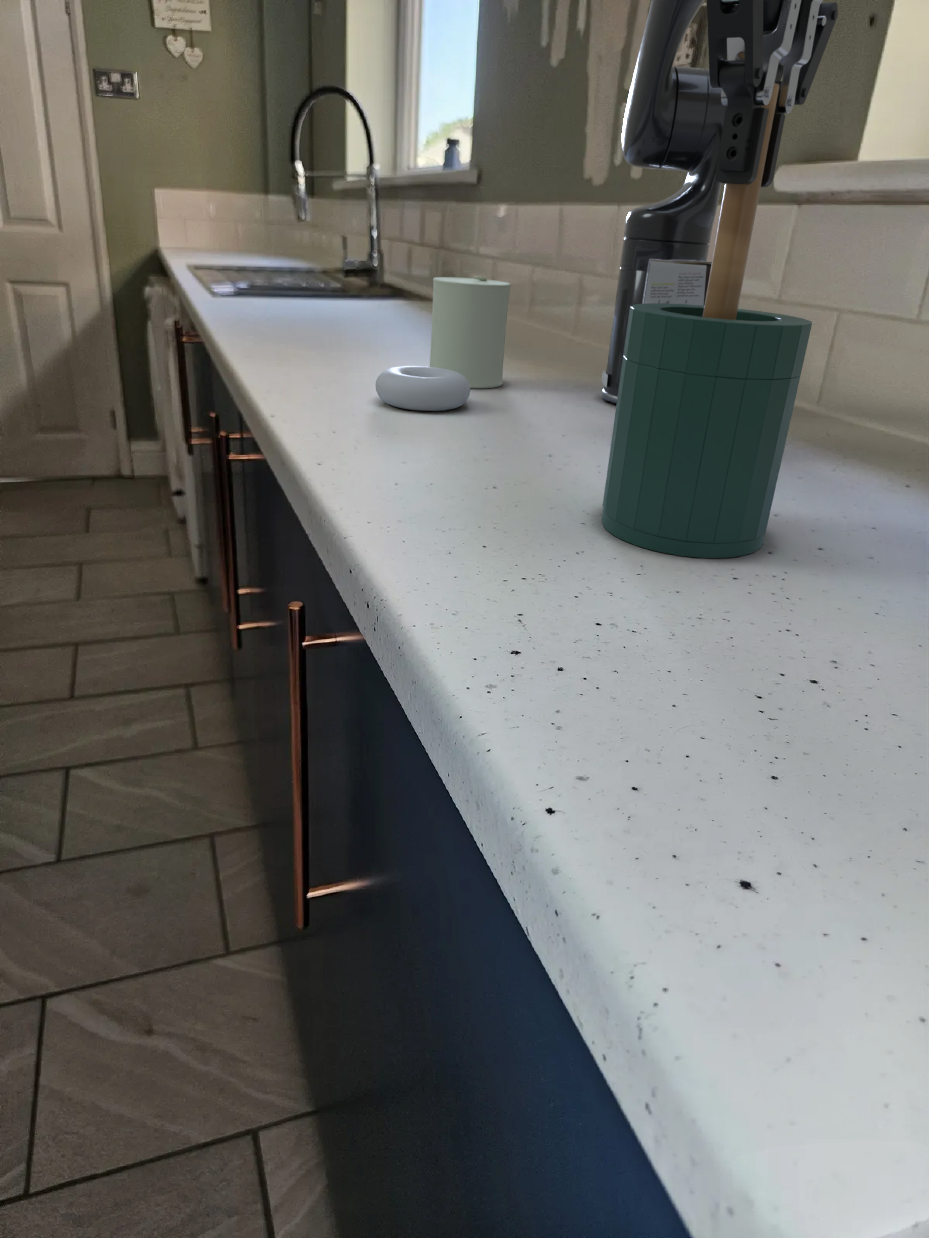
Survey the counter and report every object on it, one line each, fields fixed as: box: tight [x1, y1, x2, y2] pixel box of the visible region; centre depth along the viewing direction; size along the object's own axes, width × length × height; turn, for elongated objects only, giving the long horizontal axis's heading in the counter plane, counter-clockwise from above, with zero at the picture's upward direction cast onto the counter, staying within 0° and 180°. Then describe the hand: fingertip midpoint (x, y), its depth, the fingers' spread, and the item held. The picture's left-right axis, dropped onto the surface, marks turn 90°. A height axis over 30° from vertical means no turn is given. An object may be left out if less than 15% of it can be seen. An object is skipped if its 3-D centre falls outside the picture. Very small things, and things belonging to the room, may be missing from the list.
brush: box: [703, 83, 779, 320], centre depth 53 cm, size 5×5×20 cm
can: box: [429, 275, 512, 389], centre depth 104 cm, size 9×9×12 cm
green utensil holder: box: [601, 303, 813, 559], centre depth 56 cm, size 11×11×14 cm
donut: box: [375, 365, 471, 412], centre depth 91 cm, size 10×4×10 cm
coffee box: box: [642, 259, 712, 306], centre depth 81 cm, size 9×6×16 cm
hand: (743, 183), depth 50 cm, fingers closed on brush
